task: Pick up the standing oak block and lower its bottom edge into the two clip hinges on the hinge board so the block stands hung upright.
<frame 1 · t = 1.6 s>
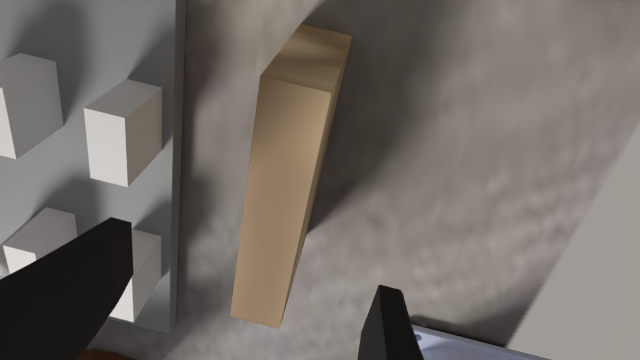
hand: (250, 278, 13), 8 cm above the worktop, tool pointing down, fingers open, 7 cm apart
oak block: (304, 142, 20), on the worktop
hinge board: (111, 169, 23), on the worktop
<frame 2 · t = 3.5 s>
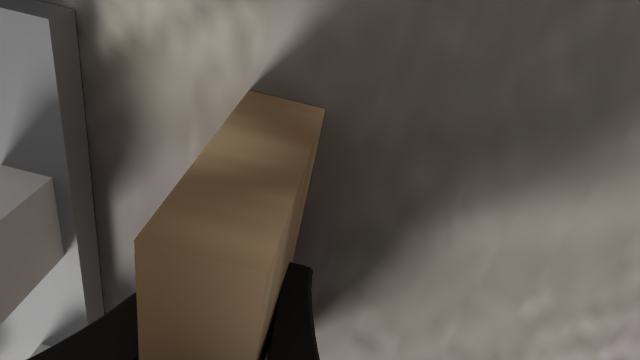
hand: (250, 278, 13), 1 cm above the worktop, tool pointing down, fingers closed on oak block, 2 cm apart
oak block: (263, 245, 14), on the worktop, touching gripper
hinge board: (9, 267, 17), on the worktop
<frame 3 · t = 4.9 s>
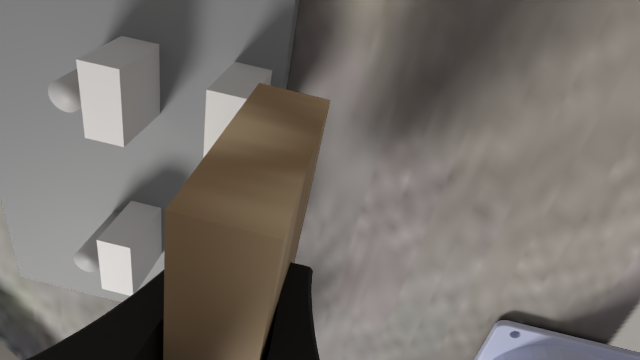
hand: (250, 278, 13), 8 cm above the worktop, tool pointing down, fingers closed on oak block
oak block: (270, 230, 15), point 6 cm above the worktop, touching gripper
hinge board: (200, 160, 22), on the worktop
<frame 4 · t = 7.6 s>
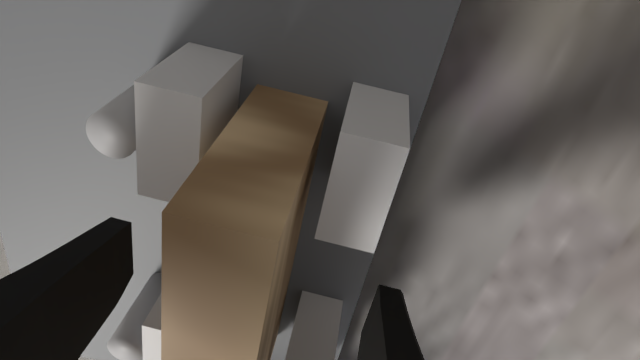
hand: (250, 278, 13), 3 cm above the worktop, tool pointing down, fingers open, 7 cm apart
oak block: (269, 231, 15), point 1 cm above the worktop, touching hinge board
hinge board: (277, 209, 16), on the worktop
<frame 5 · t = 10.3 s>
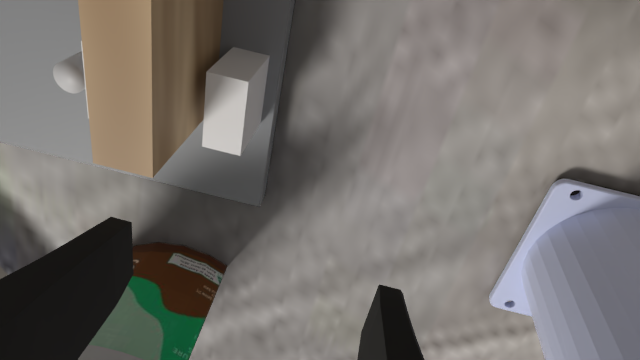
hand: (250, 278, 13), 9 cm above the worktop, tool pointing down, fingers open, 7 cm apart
food container: (145, 273, 28), on the worktop
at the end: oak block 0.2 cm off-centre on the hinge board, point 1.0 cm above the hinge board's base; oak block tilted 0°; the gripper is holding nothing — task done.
